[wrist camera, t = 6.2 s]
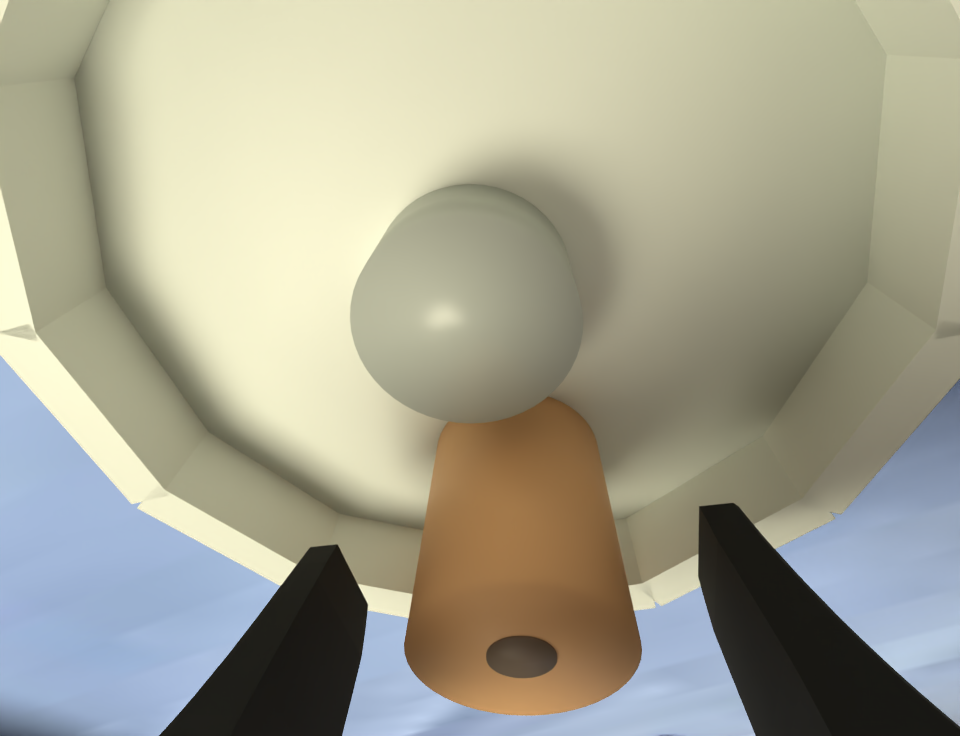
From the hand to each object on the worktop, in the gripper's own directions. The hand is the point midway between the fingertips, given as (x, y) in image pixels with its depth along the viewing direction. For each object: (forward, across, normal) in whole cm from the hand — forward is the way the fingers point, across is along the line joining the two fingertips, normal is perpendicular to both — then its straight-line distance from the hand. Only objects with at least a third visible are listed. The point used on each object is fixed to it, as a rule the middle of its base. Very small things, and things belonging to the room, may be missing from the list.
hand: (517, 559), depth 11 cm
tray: (+4, 0, -5) cm, 6 cm away
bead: (+3, 0, 0) cm, 3 cm away
